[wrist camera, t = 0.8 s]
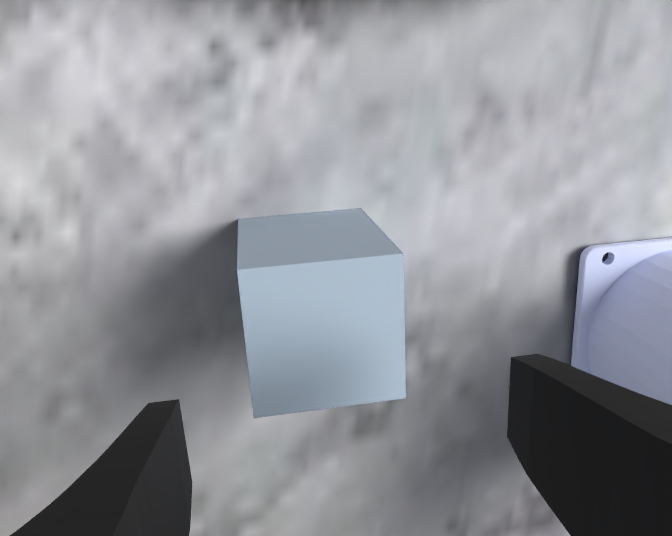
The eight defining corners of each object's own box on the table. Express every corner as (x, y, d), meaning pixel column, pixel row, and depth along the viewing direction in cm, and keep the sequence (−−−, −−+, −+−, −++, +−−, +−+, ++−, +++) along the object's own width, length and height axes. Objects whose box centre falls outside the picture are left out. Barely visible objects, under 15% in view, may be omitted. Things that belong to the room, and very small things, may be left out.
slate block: (360, 208, 21) (403, 253, 16) (365, 319, 23) (405, 398, 17) (237, 218, 21) (236, 269, 15) (250, 332, 22) (253, 418, 17)
